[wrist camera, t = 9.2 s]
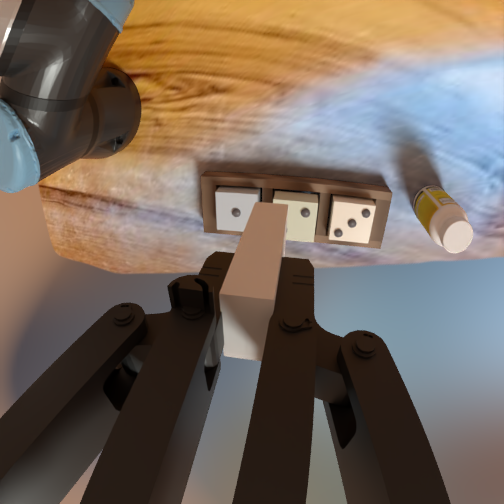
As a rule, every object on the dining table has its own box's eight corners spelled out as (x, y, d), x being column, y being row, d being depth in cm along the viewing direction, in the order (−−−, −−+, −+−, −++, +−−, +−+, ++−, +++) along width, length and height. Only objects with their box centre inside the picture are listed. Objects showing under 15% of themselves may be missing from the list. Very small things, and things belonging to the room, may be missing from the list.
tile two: (273, 228, 45) (271, 239, 42) (275, 190, 42) (273, 199, 39) (313, 231, 44) (313, 243, 41) (317, 194, 41) (318, 203, 38)
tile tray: (208, 225, 49) (204, 232, 47) (205, 171, 44) (200, 176, 42) (377, 240, 45) (380, 248, 43) (388, 187, 40) (392, 192, 38)
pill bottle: (421, 227, 43) (446, 267, 33) (405, 197, 41) (430, 231, 31) (451, 208, 40) (482, 243, 31) (437, 176, 38) (469, 206, 29)
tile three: (327, 229, 45) (328, 240, 42) (332, 192, 42) (334, 201, 39) (364, 233, 44) (368, 244, 41) (371, 197, 41) (376, 206, 38)
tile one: (222, 220, 47) (216, 230, 44) (221, 184, 44) (215, 192, 41) (259, 222, 46) (256, 233, 43) (260, 186, 43) (257, 195, 40)
